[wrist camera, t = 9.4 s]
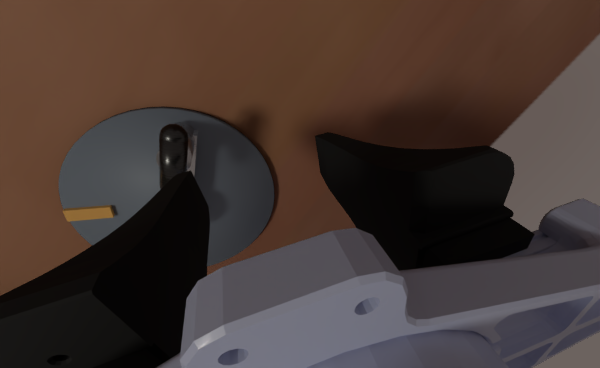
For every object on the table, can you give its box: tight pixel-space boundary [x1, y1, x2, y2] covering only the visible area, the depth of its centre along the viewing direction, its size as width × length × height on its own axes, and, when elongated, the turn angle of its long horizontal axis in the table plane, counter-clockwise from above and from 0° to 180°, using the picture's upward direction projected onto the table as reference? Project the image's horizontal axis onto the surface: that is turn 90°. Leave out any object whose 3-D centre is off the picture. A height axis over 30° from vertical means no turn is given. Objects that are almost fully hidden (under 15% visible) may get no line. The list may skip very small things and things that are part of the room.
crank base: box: [59, 107, 274, 266], centre depth 21 cm, size 16×16×1 cm
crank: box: [156, 122, 198, 189], centre depth 17 cm, size 10×4×5 cm, turn 165°
